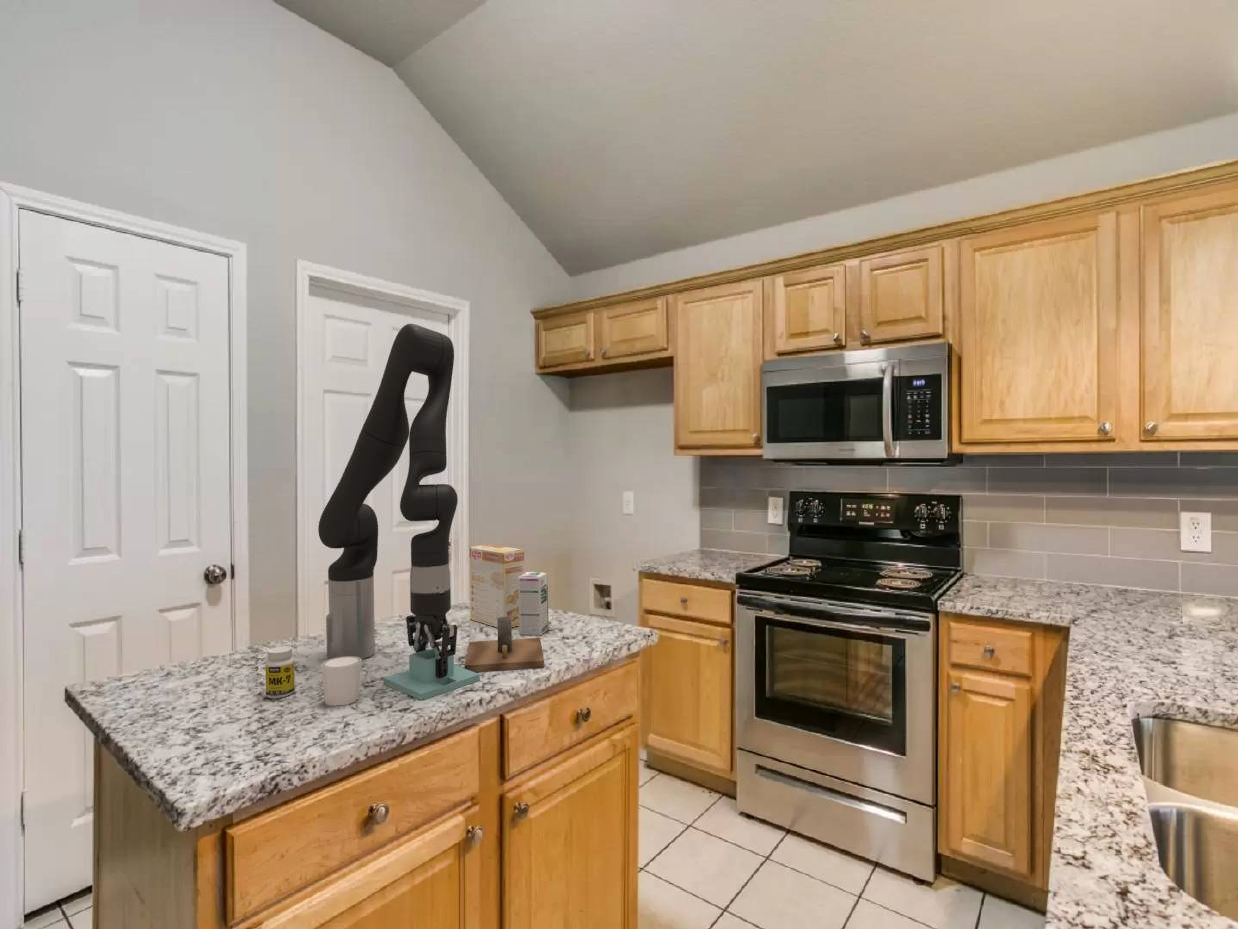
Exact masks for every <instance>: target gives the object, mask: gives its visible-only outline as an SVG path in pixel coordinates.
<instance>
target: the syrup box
mask: <svg viewBox="0 0 1238 929" xmlns="http://www.w3.org/2000/svg"><path fill="white" fill-rule="evenodd" d="M548 586H549V585H548V573H547V572H546V571H545V572H544V571H526V572H524V574H523V575H521V576H519V577H518V591H519V626H518V627H519V635H522V636H531V635H537V636H538V637H541V635H542V636H543V635H544V634H545V633H546V632H547V631H548V630H549V628H550V626H549V591H548V588H549V587H548ZM537 636H536V637H537Z"/></svg>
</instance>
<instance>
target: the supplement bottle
mask: <svg viewBox="0 0 1238 929" xmlns="http://www.w3.org/2000/svg"><path fill="white" fill-rule="evenodd" d="M264 666H265V696H266V698H269V699H282V698H286V697H289V696H291V695H292V693H293V694H294V693H295V692H296V691H295V690H296V689H295V688H296V687H295V676H296V675H295V659H294V657H293V649H292V647H291V646H287V645H286V646H285V645H283V646H281V645H280V646H276V647H272V648H269V649H268V650H267V660H266V661H265V665H264ZM288 695H289V696H288ZM285 696H286V697H285ZM281 697H282V698H281Z"/></svg>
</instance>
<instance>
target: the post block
mask: <svg viewBox="0 0 1238 929" xmlns="http://www.w3.org/2000/svg"><path fill="white" fill-rule="evenodd" d="M497 625H498V628H497V639H496V640H495V639H494V640H482V641H481V640H479V641H476V640H475V641H468V645H467V650H466V656H465V662H464V669H467V670H470V671H472V672H475V673H484V672H500V670H501V671H512V670H514V671H515V670H529V669H544V668H545V657H544V652H543V648H542V641H541V637H533V638H532V637H531V638H530V637H529V638H515V639H513V636H512V630H513V628H512V618H511V617H500V618H498V619H497Z"/></svg>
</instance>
